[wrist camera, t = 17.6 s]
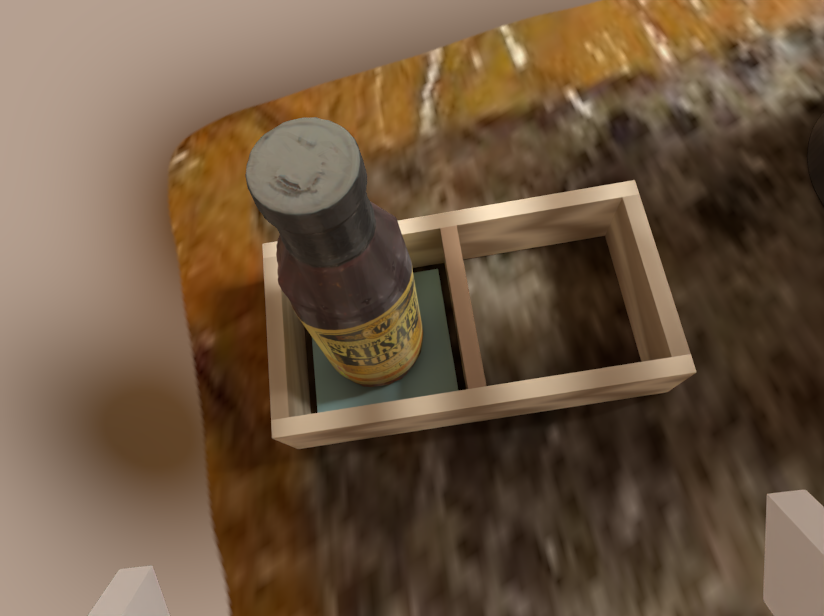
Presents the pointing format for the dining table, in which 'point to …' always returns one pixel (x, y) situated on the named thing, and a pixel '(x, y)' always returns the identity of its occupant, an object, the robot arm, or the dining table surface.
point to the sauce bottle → (337, 250)
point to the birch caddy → (434, 368)
